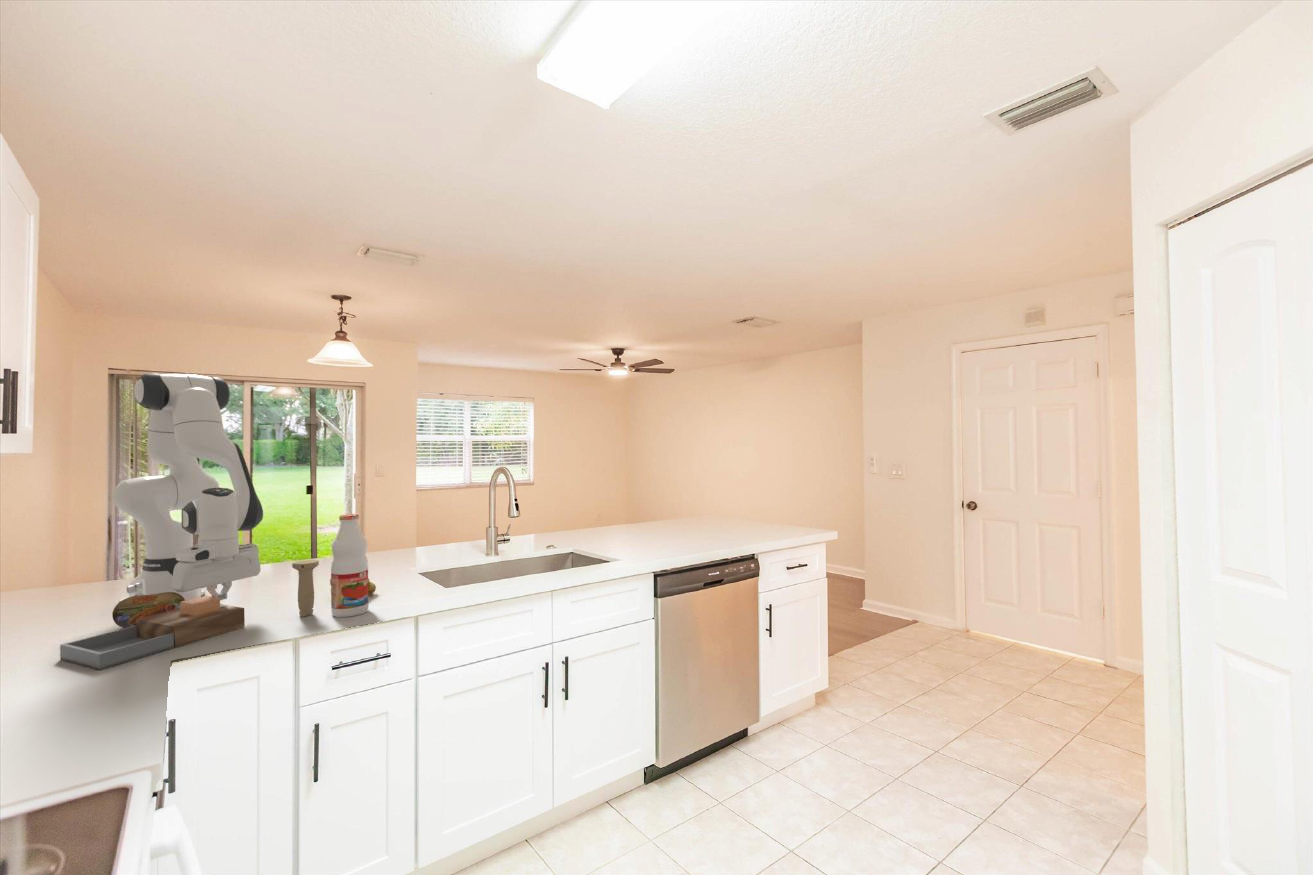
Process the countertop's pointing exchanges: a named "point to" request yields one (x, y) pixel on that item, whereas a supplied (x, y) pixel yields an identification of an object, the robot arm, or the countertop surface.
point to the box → (113, 648)
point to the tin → (144, 607)
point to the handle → (305, 585)
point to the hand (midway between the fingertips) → (219, 600)
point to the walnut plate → (190, 624)
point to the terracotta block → (199, 605)
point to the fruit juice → (349, 569)
